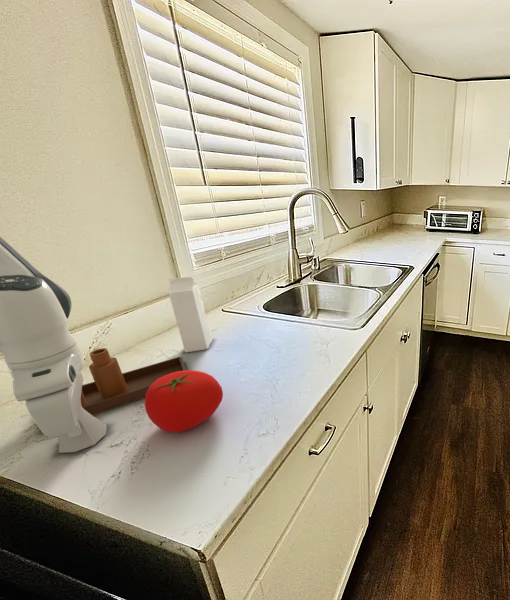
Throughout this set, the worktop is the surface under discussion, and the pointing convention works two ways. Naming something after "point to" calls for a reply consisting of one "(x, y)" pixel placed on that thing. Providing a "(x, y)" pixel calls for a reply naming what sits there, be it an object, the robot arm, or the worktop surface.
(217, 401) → the tomato
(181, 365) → the tray
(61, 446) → the flask
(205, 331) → the milk
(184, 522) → the worktop surface
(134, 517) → the worktop surface
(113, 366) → the spice bottle
